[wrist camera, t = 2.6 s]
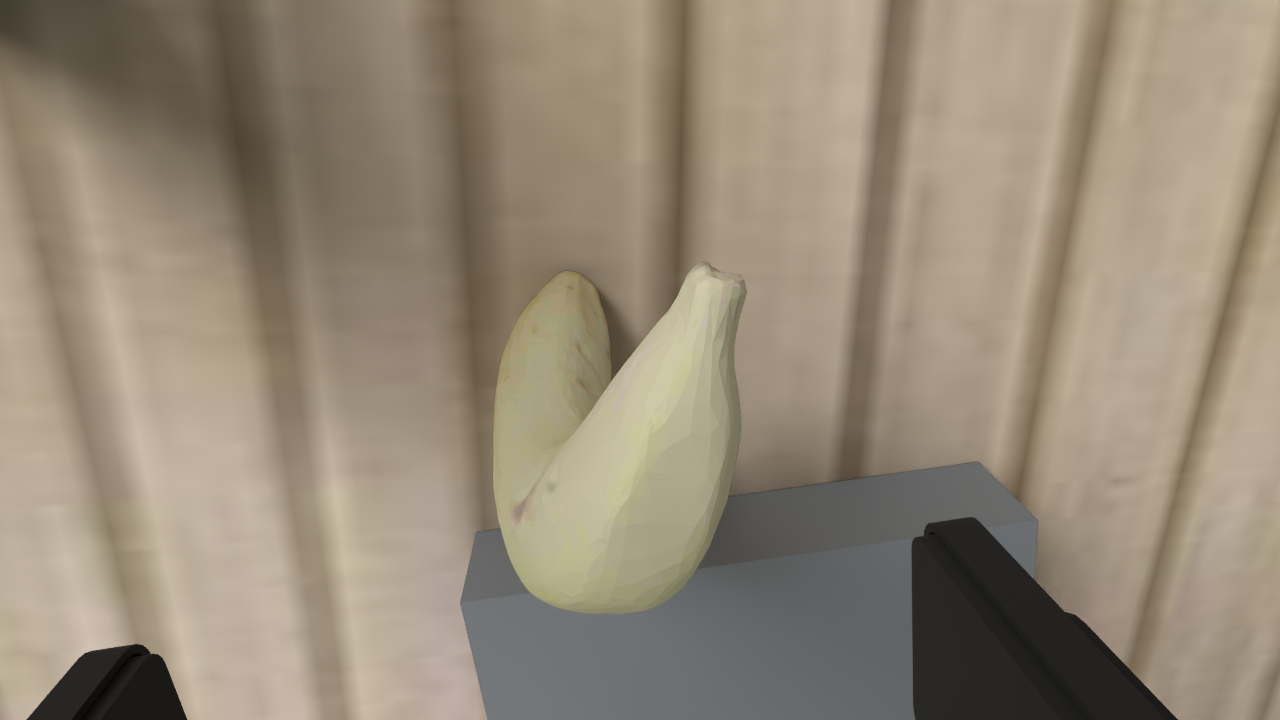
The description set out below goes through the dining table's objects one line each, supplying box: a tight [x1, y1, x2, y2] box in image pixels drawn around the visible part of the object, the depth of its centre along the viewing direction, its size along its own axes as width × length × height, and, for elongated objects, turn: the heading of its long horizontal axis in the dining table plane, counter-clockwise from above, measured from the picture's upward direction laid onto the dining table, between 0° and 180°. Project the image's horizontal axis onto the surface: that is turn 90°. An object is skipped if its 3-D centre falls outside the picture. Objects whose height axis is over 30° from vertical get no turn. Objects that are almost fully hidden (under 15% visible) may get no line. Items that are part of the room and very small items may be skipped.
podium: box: [460, 462, 1038, 720], centre depth 29 cm, size 18×14×4 cm
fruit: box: [493, 261, 747, 614], centre depth 19 cm, size 7×15×3 cm
